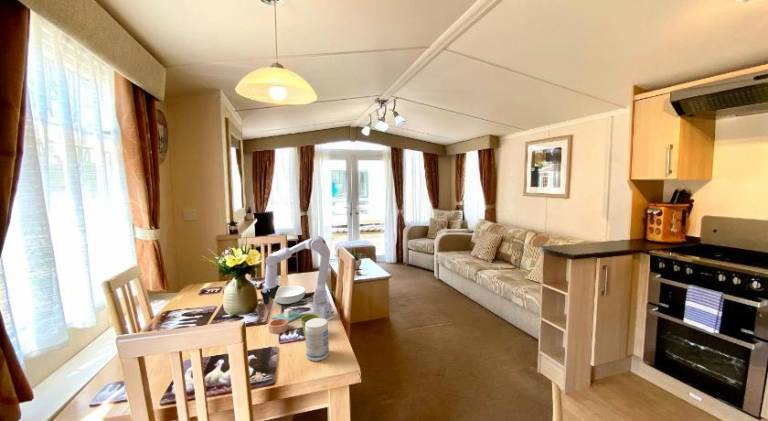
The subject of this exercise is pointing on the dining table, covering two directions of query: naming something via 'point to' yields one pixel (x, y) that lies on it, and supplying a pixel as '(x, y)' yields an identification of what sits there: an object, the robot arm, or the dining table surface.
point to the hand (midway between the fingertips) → (269, 301)
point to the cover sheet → (294, 316)
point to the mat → (293, 320)
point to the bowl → (278, 326)
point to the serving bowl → (289, 294)
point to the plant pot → (307, 318)
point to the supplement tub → (316, 339)
